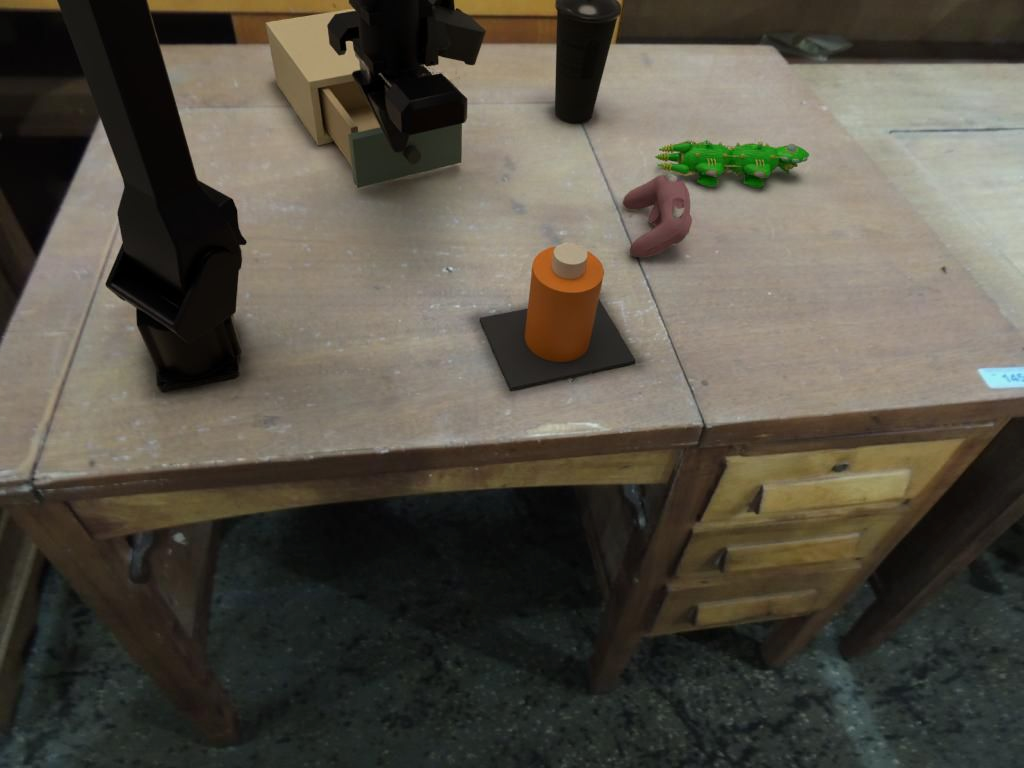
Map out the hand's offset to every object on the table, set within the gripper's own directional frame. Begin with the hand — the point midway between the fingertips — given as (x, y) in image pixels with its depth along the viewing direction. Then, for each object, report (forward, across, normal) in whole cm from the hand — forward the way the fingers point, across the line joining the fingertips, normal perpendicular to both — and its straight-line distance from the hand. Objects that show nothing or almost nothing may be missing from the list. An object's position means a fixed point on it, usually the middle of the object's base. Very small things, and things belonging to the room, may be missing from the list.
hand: (398, 150), depth 74 cm
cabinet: (+7, +24, -3) cm, 25 cm away
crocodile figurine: (+8, -9, -38) cm, 40 cm away
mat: (+8, -24, -5) cm, 26 cm away
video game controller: (+8, -14, -23) cm, 28 cm away
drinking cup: (+8, +10, -28) cm, 31 cm away
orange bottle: (+7, -24, -5) cm, 25 cm away
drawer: (+6, +11, -3) cm, 13 cm away
